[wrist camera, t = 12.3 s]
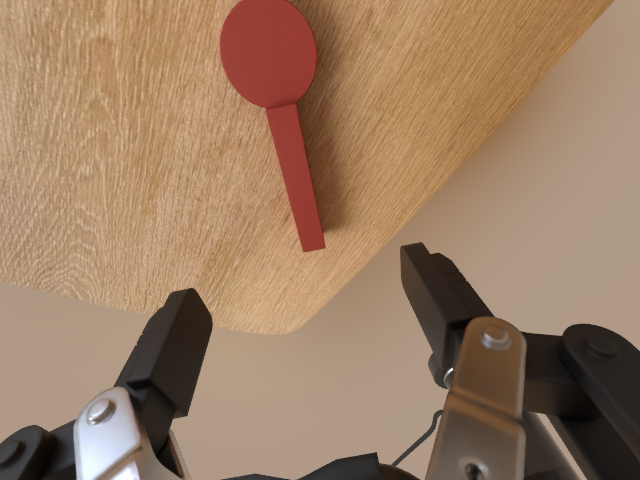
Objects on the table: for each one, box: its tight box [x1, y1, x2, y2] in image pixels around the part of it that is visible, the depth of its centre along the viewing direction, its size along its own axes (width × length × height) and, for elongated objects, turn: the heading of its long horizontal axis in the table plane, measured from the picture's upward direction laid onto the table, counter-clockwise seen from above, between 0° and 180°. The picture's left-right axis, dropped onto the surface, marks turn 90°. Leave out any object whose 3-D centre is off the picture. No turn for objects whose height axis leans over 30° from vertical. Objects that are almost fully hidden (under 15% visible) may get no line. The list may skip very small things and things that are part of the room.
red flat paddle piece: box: [220, 0, 325, 252], centre depth 23 cm, size 19×6×3 cm, turn 10°
